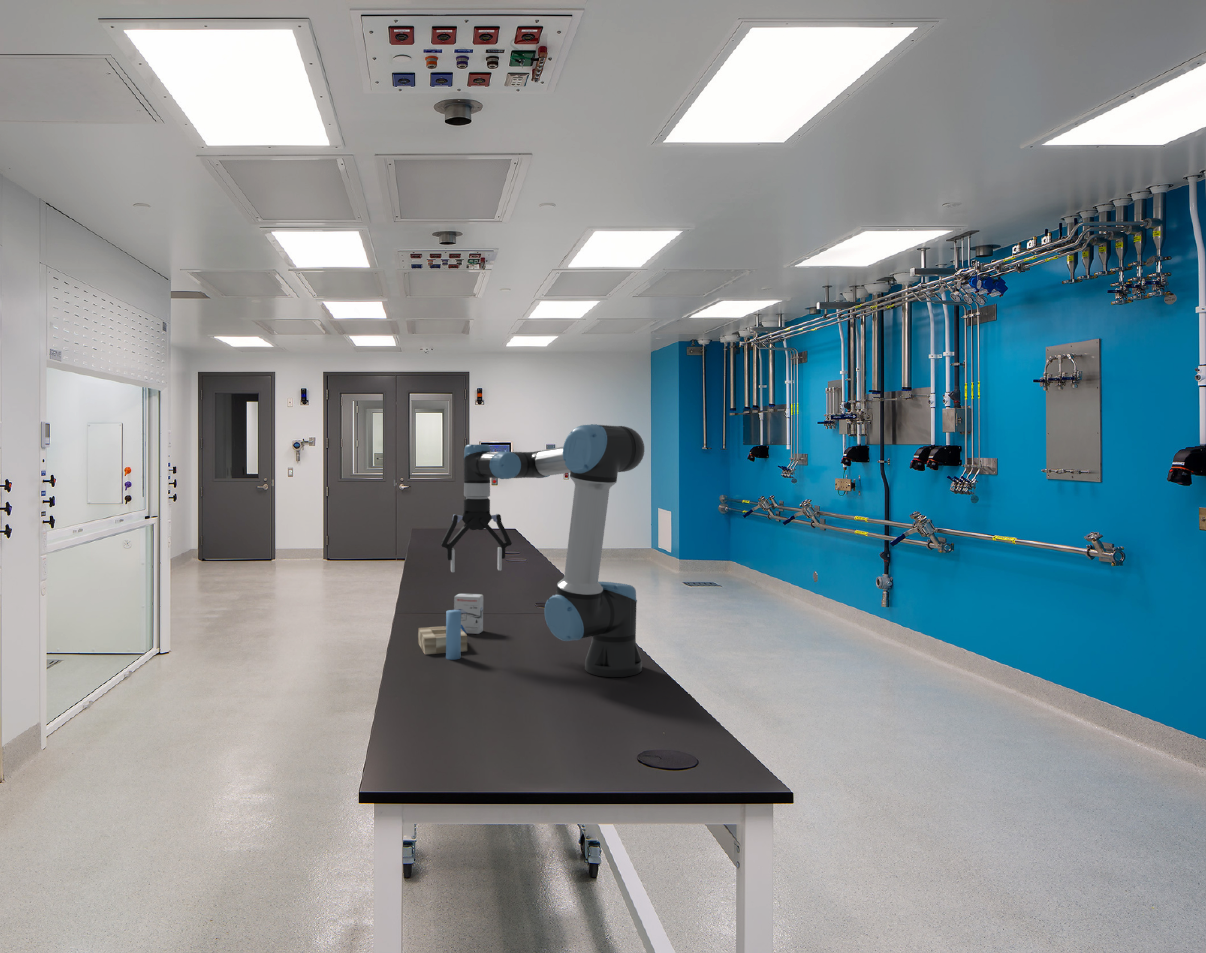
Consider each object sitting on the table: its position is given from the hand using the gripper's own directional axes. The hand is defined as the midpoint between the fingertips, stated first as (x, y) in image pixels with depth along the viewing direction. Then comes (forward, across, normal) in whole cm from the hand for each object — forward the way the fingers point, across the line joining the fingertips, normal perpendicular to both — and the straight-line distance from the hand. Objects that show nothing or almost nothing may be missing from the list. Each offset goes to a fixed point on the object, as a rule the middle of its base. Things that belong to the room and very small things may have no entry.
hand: (476, 570), depth 225 cm
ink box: (+23, -1, -22) cm, 32 cm away
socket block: (+23, +9, -5) cm, 25 cm away
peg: (+23, +8, +8) cm, 25 cm away
